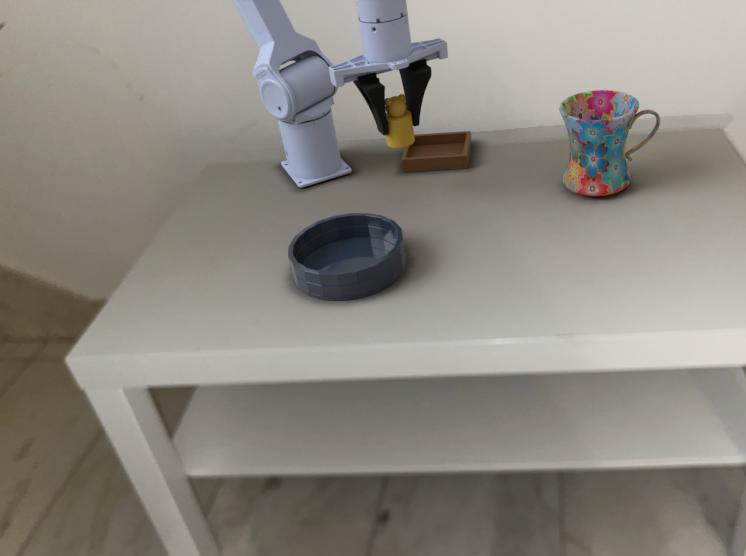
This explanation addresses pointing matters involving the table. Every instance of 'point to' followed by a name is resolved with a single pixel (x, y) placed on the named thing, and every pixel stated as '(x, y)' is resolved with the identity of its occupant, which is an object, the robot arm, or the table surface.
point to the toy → (399, 122)
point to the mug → (600, 140)
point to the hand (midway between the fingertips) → (398, 127)
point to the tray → (437, 152)
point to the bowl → (347, 256)
